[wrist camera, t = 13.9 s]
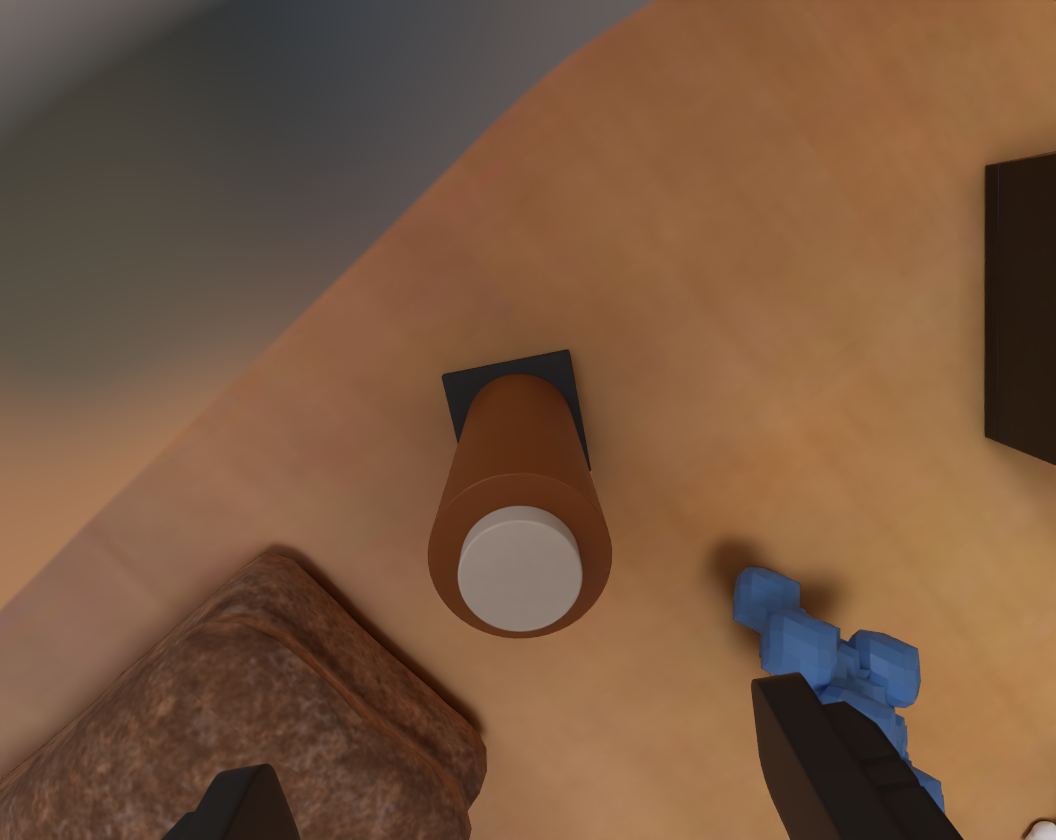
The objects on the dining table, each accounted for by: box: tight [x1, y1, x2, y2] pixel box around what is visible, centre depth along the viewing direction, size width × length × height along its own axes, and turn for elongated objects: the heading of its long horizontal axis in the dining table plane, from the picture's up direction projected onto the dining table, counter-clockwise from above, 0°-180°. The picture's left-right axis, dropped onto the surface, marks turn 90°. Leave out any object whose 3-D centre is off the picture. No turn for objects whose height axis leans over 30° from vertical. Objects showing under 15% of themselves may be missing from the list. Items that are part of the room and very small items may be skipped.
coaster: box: [442, 349, 591, 471], centre depth 30 cm, size 6×6×1 cm
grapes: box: [733, 567, 945, 814], centre depth 27 cm, size 12×7×12 cm, turn 33°
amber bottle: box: [428, 374, 612, 638], centre depth 23 cm, size 5×5×14 cm
